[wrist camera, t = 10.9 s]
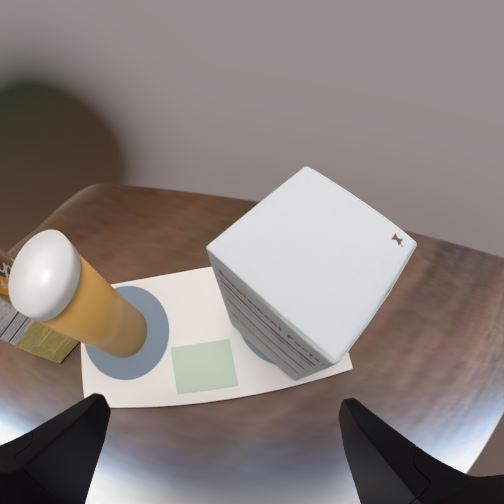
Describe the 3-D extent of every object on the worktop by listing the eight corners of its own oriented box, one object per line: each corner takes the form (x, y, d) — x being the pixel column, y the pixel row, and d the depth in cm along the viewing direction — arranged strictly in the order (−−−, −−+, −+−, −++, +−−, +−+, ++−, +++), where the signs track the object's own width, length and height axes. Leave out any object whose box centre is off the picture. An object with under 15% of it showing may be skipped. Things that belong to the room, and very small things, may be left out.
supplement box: (287, 267, 25) (308, 160, 14) (349, 320, 22) (424, 242, 11) (228, 324, 22) (200, 243, 11) (293, 385, 20) (340, 368, 9)
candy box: (30, 310, 24) (-58, 243, 10) (50, 286, 25) (-35, 209, 12) (61, 365, 21) (-56, 313, 8) (83, 339, 22) (-31, 270, 9)
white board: (353, 368, 21) (358, 366, 20) (91, 406, 19) (84, 406, 18) (316, 252, 27) (319, 245, 26) (88, 293, 25) (81, 288, 24)
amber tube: (150, 356, 21) (63, 309, 10) (100, 360, 20) (3, 316, 10) (146, 300, 23) (76, 221, 13) (99, 307, 23) (18, 239, 12)
